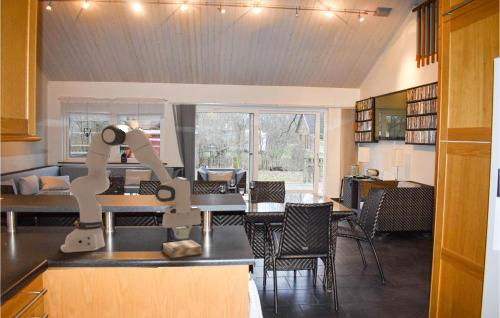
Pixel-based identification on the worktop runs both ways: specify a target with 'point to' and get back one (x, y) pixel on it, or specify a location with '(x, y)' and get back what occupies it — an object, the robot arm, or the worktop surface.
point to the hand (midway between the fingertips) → (182, 234)
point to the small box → (173, 236)
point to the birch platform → (181, 248)
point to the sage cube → (182, 232)
